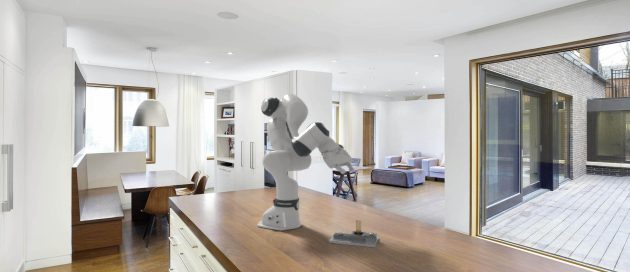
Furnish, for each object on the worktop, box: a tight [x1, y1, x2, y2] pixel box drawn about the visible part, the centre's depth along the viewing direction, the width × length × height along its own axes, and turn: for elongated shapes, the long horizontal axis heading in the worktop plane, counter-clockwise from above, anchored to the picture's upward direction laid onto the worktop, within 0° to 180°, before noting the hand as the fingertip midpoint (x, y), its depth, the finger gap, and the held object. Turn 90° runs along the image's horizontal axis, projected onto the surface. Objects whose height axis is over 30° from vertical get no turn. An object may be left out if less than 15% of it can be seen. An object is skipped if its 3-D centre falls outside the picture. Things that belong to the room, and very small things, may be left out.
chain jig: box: [328, 230, 379, 248], centre depth 150 cm, size 20×12×4 cm, turn 73°
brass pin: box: [355, 219, 362, 235], centre depth 150 cm, size 2×2×8 cm
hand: (348, 171), depth 160 cm, fingers open, 8 cm apart
